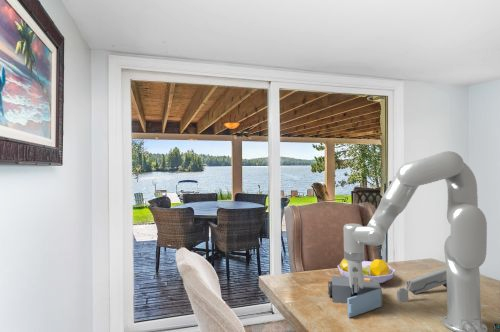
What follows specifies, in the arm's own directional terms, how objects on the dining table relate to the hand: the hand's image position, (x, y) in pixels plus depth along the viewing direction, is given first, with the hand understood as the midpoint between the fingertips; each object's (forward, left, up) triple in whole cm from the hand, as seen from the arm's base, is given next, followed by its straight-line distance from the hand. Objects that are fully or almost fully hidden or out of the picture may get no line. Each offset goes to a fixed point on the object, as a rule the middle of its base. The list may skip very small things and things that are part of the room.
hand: (355, 303), depth 122 cm
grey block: (+12, -1, -3) cm, 12 cm away
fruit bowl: (+37, -7, -3) cm, 38 cm away
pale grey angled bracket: (+14, -21, -3) cm, 25 cm away
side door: (-1, -4, -2) cm, 5 cm away
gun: (+27, -35, -3) cm, 44 cm away
